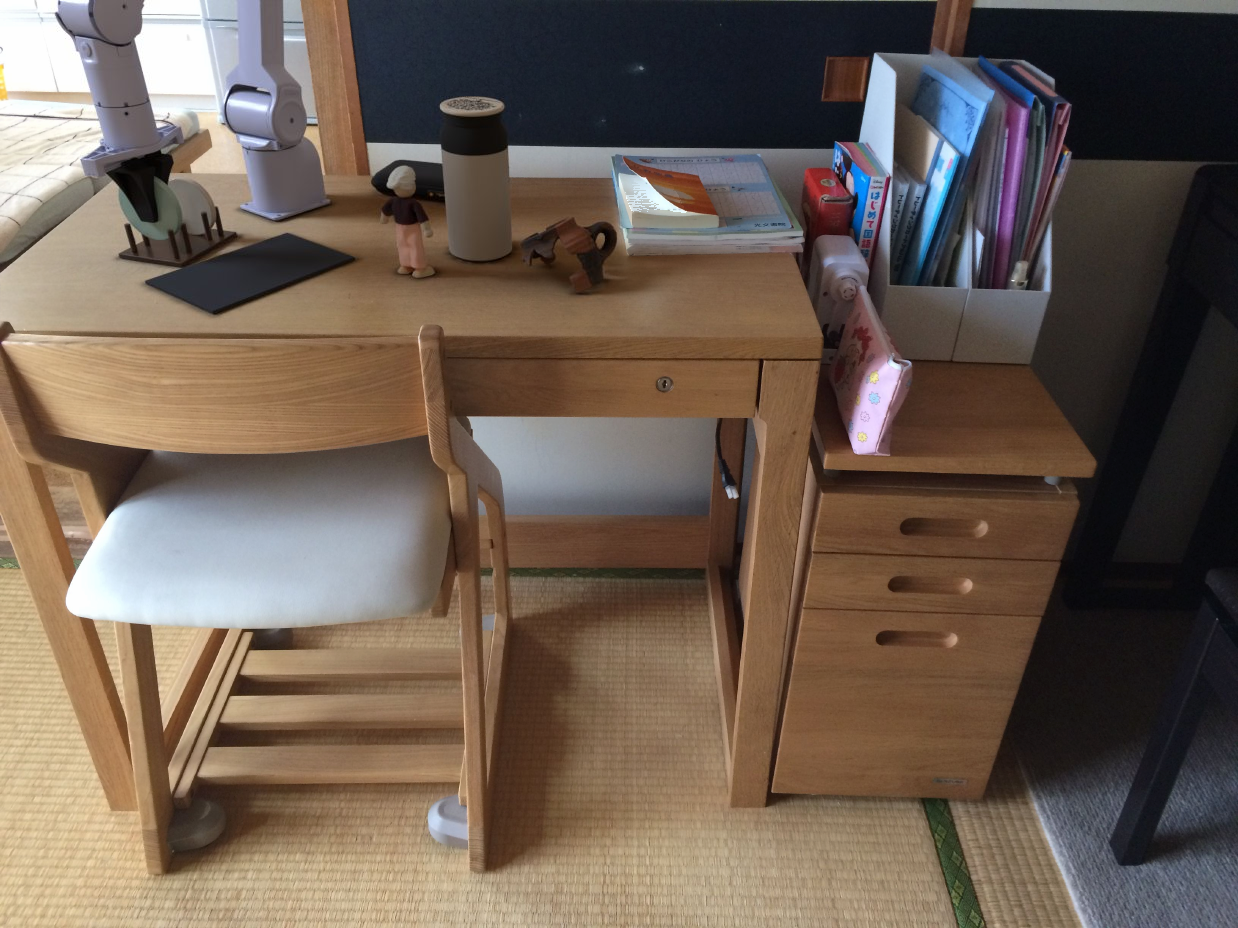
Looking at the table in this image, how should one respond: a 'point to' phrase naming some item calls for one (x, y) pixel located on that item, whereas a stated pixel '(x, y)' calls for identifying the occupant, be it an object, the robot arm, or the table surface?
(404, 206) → the grandmother figurine
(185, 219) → the cream saucer
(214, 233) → the plate rack
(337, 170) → the table surface
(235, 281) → the charcoal mat
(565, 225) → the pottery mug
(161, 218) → the pale green plate
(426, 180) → the carrying case
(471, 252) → the travel mug
